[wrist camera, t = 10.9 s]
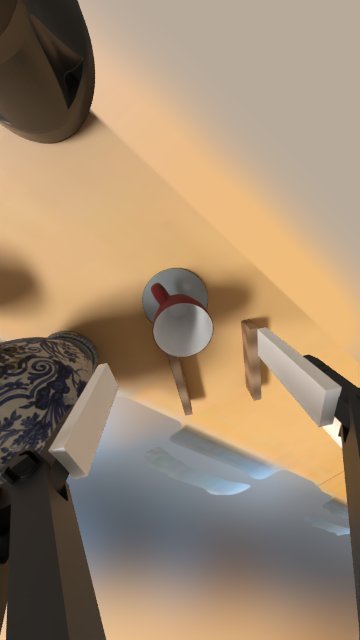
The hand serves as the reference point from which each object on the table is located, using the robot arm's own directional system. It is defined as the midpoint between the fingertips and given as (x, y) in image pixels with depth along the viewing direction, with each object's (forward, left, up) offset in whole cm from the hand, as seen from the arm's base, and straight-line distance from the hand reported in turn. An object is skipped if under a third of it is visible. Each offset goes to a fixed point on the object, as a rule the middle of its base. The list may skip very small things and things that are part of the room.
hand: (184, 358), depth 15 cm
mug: (0, 0, -18) cm, 18 cm away
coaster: (0, 0, -18) cm, 18 cm away
